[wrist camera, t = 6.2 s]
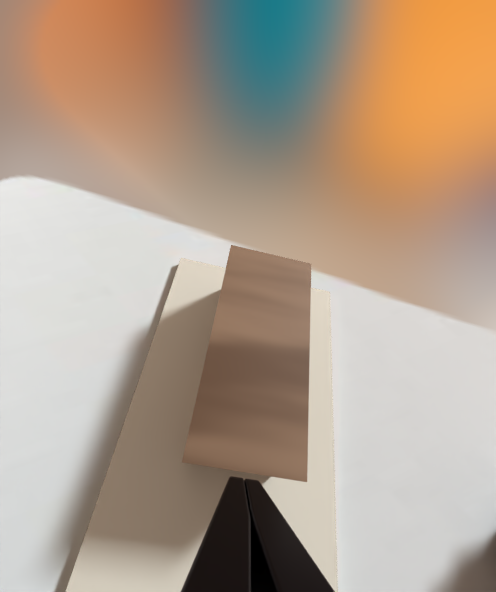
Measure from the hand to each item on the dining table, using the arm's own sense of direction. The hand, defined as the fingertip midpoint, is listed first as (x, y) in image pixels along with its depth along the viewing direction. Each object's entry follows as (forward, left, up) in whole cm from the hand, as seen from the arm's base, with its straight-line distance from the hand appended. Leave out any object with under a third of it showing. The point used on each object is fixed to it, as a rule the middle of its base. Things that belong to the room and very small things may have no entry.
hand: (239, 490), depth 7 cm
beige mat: (+2, +1, -7) cm, 8 cm away
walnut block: (+1, 0, -4) cm, 4 cm away
